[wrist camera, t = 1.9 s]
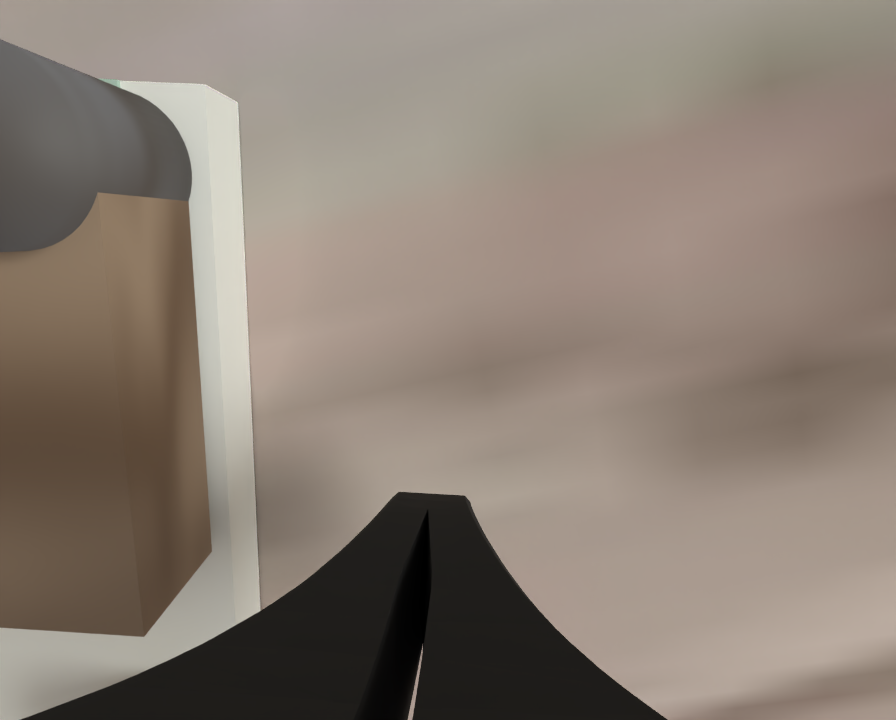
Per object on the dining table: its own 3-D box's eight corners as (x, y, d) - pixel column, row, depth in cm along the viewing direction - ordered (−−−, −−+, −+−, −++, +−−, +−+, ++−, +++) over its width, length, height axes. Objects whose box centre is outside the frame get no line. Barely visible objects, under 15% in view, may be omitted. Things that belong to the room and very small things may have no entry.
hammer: (35, 85, 10) (-146, 25, 7) (186, 91, 10) (67, 33, 7) (92, 543, 12) (-27, 643, 9) (216, 551, 12) (136, 655, 9)
